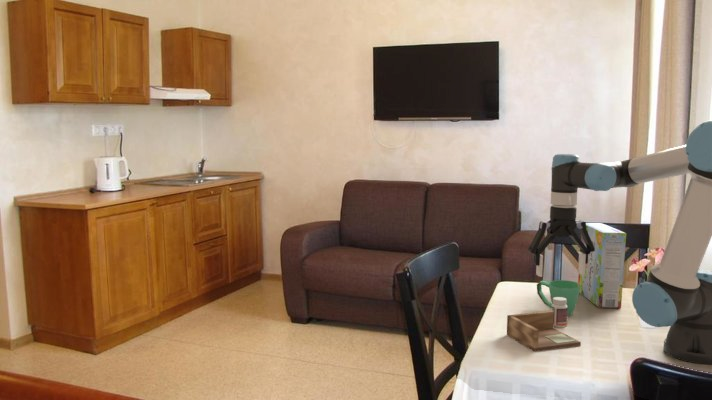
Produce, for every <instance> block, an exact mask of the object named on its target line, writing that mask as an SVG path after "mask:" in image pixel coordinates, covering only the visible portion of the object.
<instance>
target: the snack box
mask: <svg viewBox="0 0 712 400" xmlns="http://www.w3.org/2000/svg"><path fill="white" fill-rule="evenodd" d="M585 223H586V230H587V232H588V234H589V237H590V239H591V241H592V243H593V246H594V248H595V251H592V252H590V254H588V263H587V264H585V275H581V274H579V273H578V277H577V280H578V281H577V284H578V286H579V284H580V285H581V288H580V292H579V294H580V295H582V296H583V297H584V298H586V299H587V300H589V301H590V302H591V303H592V304H594V305H595V306H596V307H598V308H606V309H607V308H609V309H621V308H622V301H623V299H622V298H623V284H624V283H623V282H624V272H625V271H624V270H625V256H626V255H625V254H626V243H627V241H626V240H627V233H626V232H624V231H622V230H620V229H617V228H614V227H612V226H610V225H607V224H606V223H605V224H604V223H602V222H585ZM580 240H581V241H582V242H583V244H584V245H585V246H586V244H585V242H584V240H583V238H582V235H581V234H580ZM586 248H587V247H586ZM579 252H582V251H581V249H580V248H579Z"/></svg>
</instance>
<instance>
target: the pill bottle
mask: <svg viewBox="0 0 712 400" xmlns="http://www.w3.org/2000/svg"><path fill="white" fill-rule="evenodd" d="M566 303H567V299H566V298H563V297H554V298H553V304H552V303H551V304H552V305H551V308H550V310H552V311H554V320H553V327H555V328H565V327H567V326H568V316H567V310H568V306H567V305H566Z"/></svg>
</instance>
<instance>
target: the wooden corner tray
mask: <svg viewBox="0 0 712 400" xmlns="http://www.w3.org/2000/svg"><path fill="white" fill-rule="evenodd" d="M506 317H507V318H506V336H507V335H508V337H509V336H510V337H509V338H511V339H512V338H513V339H512V340H514V339H515V340H514V341H516V342H517V341H518V342H517V343H519V344H520V345H523V346H524V347H525V348H527V349H529V350H531V351H533V352H535V353H536V352H541V351H550V350H557V349H563V348H565V349H566V348H572V347H580V346H581V341H580V340H578V339H576V338H574V337H572V336H570V335H568V334H567V333H564V332H562V331H560V330H559V329H556V327H555V328H554V326H553V320H554V311H552V310H551V309H550V310H543V311H535V312H534V311H533V312H524V313H515V314H507V316H506Z"/></svg>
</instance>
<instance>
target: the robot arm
mask: <svg viewBox="0 0 712 400" xmlns="http://www.w3.org/2000/svg"><path fill="white" fill-rule="evenodd" d="M550 170H551V184H550V185H551V189H550V204H551V206H550V208H549V222H544V221H540V222H539V224H538V229H537V232H536V233H535V235H534V237H533V239H532V241H531V243H530V244H529V247H528V248H527V251H528V252H529V253H531V254H532V255H533V264H534V265H535V267H536V270H535V272H536V273H535V275H536V276H538V277H540V278H542V277H543V267H544V266H543V264H544V261H543V260H544V255H543V254H542V253H543V252H544V250H546V249H547V247H548V246H549V245H550V244H551V242H552V241H553V240H554V239H556V238H557V237H558V238H563V237H565V238H568V237H570V238H571V239H572V241H573V242H574V243H575V245H577V247H578V248H579V250H580V249H581V251H582V252H580V251H578V266H577V267H578V270H577V271H578V272H577V274H578V275H579V274H581V275H585V264H587V263H588V254H590V252H592V251H595V248H594V246H593V243H592V241H591V239H590V237H589V234H588V232H587V230H586V223H587V222H585V221H583V220H579V221H576V220H577V212H578V211H577V207H576V206H577V204H578V189H583V190H584V189H586V190H591V191H594V192H599V191H600V192H608V191H610V190H611V189H614V188H615V189H616V188H631V187H635V186H638V185H639V184H643V183H648V182H654V181H659V180H662V179H663V180H664V179H667V178H672V177H678V176H683V175H687V174H689V175H690V180H689V183H688V186H687V189H686V191H685V195H684V196H683V200H682V201H681V205H680V207H679V211H678V213H677V216H676V218H675V220H674V221H675V222H674V224H673V227H672V230H671V232H670V235H669V237H668V239H667V242H666V243H667V244H666V246H665V249H664V251H663V254H662V257H661V259H660V262H659V263H658V264H654V265H653V266H652V267H650V270H649V273H648V276H647V277H646V278H647V279H646V281H643V282H640V283H638V284H637V286H635V288H634V289H633V292H632V295H631V297H632V299H631V300H632V301H631V302H632V305H633V307H634V309H635V312H636V314H637V316H638V317H639V319H641V320H642V321H643V322H644V323H645V324H647V325H649V326H651V327H654V328H663V327H664V328H665V327H666V328H667V327H669V329H668V331H667V335H666V337H665V338H664V340H663V351H664V352H665V353H666V354H668V355H669V356H671V357H673V358H675V359H678V360H681V361H685V362H689V363H695V364H703V365H705V364H707V365H712V270H706V269H701V268H700V267H701V264H702V263H703V259H704V257H705V255H706V252H707V250H708V246H709V244H710V242H711V239H712V119H711V120H706V121H704V122H702V123H700V124H699V125H697V126H695V128H693V130H691V132H690V133H689V134H688V136H687V140H686V143H685V144H684V145H680V146H678V147H677V146H676V147H673V148H669V149H665V150H662V151H661V150H660V151H657V152H654V153H649V154H645V155H641V156H638V157H635V158H630V159H625V160H622V161H614V162H611V161H610V162H580V156H579V155H578V154H572V153H571V154H570V153H568V154H567V153H558V154H555V155H553V157H552V163H551V169H550ZM548 228H549V229H550V230H549V231H548V232H547V234H546V235H545V233H546V231H547V230H548ZM576 228H577V229H578V230H579V232H580V236H581V235H582V238H583V240H584V242H585V244H586V246H585V245H584V244H583V242H582V241H581V238H580V237H579V236H578V234H577V233H576V231H575V230H576ZM544 235H545V237H544ZM543 237H544V238H543ZM586 247H587V248H586Z"/></svg>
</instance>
